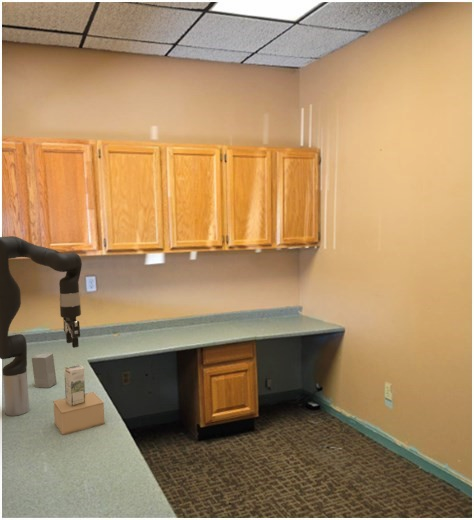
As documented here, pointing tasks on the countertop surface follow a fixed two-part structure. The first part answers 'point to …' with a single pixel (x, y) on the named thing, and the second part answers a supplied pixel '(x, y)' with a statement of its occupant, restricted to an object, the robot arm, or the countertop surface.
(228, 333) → the countertop surface
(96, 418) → the carton
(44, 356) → the skincare box
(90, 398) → the lid
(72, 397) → the syrup box
